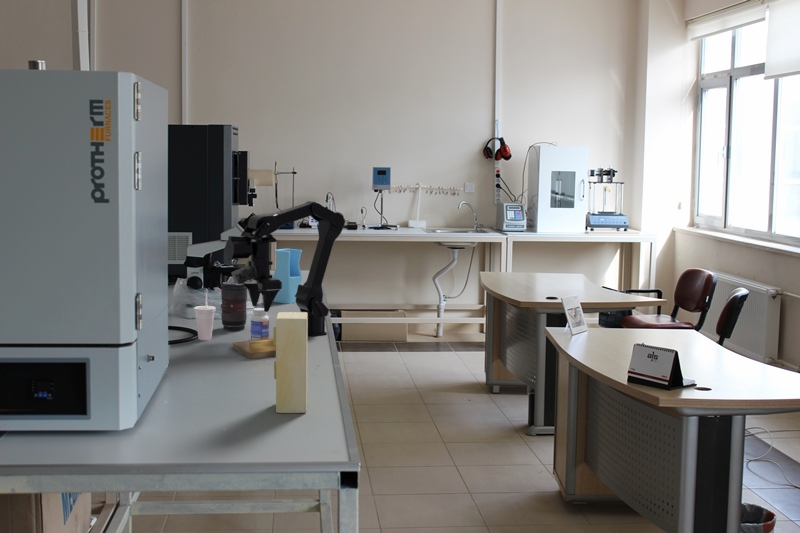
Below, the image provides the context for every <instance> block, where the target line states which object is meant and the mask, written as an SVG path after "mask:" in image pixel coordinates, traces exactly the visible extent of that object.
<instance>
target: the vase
mask: <svg viewBox="0 0 800 533" xmlns="http://www.w3.org/2000/svg"><path fill="white" fill-rule="evenodd" d="M302 253H303V250H302V249H294V248H279V249H275V256H276V266H275V270H274V273H273V274H272V278H276V279H279V280H280V281H281V282H282V289H280V291H278V293H277V295H276V297H275V299H274V301H273V302H274V303H280V304H284V305H285V304H287V305H288V304H289V305H290V304H296V297H295V295H296V293H297V289H298V285H302V284H301V283H302V280H303V274H302V271H301V268H300V267H301V266H300V261H301V256H302Z"/></svg>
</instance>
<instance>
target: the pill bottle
mask: <svg viewBox="0 0 800 533" xmlns="http://www.w3.org/2000/svg"><path fill="white" fill-rule="evenodd" d="M252 313H253V315H252V316H251V317H250V341H253V340H263V339H270V319H269V318H270V317H269V316H268V315H267V313H268V312H265V311H264V307H263V308H262V307H258V308H257V307H256V308H253V309H252Z"/></svg>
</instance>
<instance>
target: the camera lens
mask: <svg viewBox="0 0 800 533" xmlns="http://www.w3.org/2000/svg"><path fill="white" fill-rule="evenodd" d="M221 284H222V285H221V289H220V290H221V291H220V292H221V294H220V295H221V304H220V309H221V317H220V318H221V325H222V326H223V330H224V331H226V332H227V331H228V332H239V331H242V330H245V329H246V328H245V327H246V325H247V324H246V323H247V313H248V312H247V300H248V289H247V288H246V287H245V286H244V285H243V284H238V283H235V282H234V281H223V282H222V283H221Z"/></svg>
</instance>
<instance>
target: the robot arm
mask: <svg viewBox="0 0 800 533" xmlns="http://www.w3.org/2000/svg"><path fill="white" fill-rule="evenodd" d="M308 217H311V218H312V219H313V220H314V221H316V222H318V223H317V231H318V240H317V245H316V247H315V251H314V254H313V258H312V261H311V265H310V268H309V272H308V275H307V279H306V281H305V282H304V283H303V284H300V285H298V289H297V293H296V295H295V297H296V303H295V304H296V306H297V307H298V308H299V312H307V313H308V335H307V337H313V336H315V337H316V336H322V335H328V332H326V328H325V327H326V324H325V323H326V317H327V316H328V315H329V311H330V309H329V308H328V306H326V305H325V303H323V300H324V292H323V286H322V285H323V281H324V278H325V275H326V271H327V268H328V264H329V260H330V258H331V253H332V249H333V246H334V244H335V241H336V240H337V239H338V238H339V236H340V235H341V234H342V231H343V229H344V227H345V224H346V219H345V217H344V215H343V214H342V213H340V212H335V211H333V210H331V209H329V208H327V207H325V206H323V205H322V204H320V203H319V202H317V201H311V200H309V201H308V200H307V201H306V202H305V203H301V204H298V205H295V206H292V207H289V208H287V209H282V210H280V211H277V212H273V213H262V214H261V213H260V214H259V213H258V214H254V215H251V216H250V217H249V219H248V222H247V225H246V227H245V228H244V230H243V231H242V233H241V234H240V235H236V236H235V235H228V238H227V241H226V243H225V246H224V253H225V256H226V258H227V259H228V260H240V259H243V260H244V259H245V260H246V259H249V257H250V260H248V261H247V263H246V264H247V265H246V266H242V267H240V268H238V269H235V270H234V271H232V272H231V276H232V279H233V282H235V283H238V284H243V285H244V286H245V287H246V288H247V293H248V294H249V298H250V301H251V306H252V307H257V306H258V302H259V300H260V296H261V295H262V296H261V297H262V305H263V308H264V311H265V312H267V313H268V312H269V310H270V308H271V307H272V304H273V301H274V299H275V297H276V295H277V293H278V291H280V289H282V282H281V281H280V280H279V279H276V278H273V274H272V273H271V266H273V261H272V260H271V243H277V242H278V241H277V239H276V238H275V237H274V236H273V234H272V233H274V232H276V231H277V230H279V229H280V227H282V226H284V225H287V224H291V223H293V222H297V221H299V220H303V219H305V218H308Z"/></svg>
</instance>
